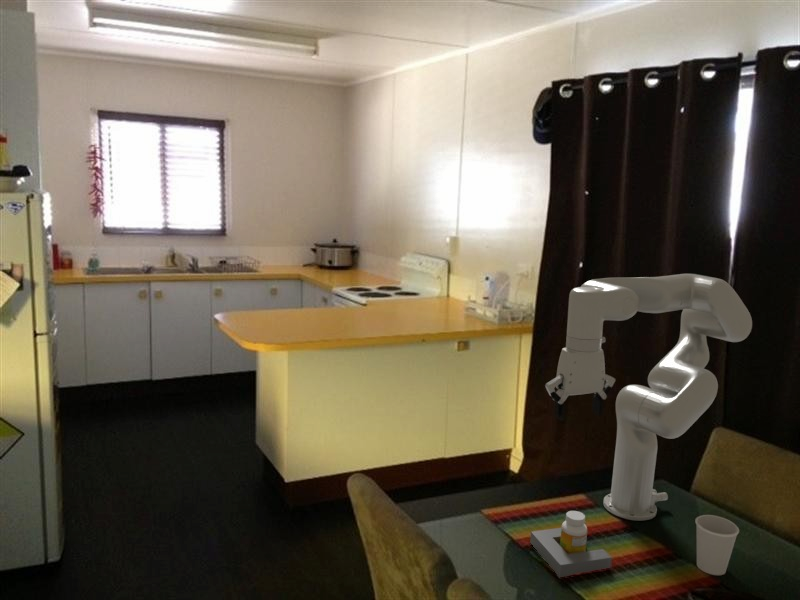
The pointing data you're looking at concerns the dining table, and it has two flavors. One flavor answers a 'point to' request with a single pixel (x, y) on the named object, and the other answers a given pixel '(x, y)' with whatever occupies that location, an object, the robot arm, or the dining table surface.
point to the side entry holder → (563, 562)
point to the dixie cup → (714, 543)
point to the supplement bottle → (574, 533)
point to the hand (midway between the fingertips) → (578, 416)
